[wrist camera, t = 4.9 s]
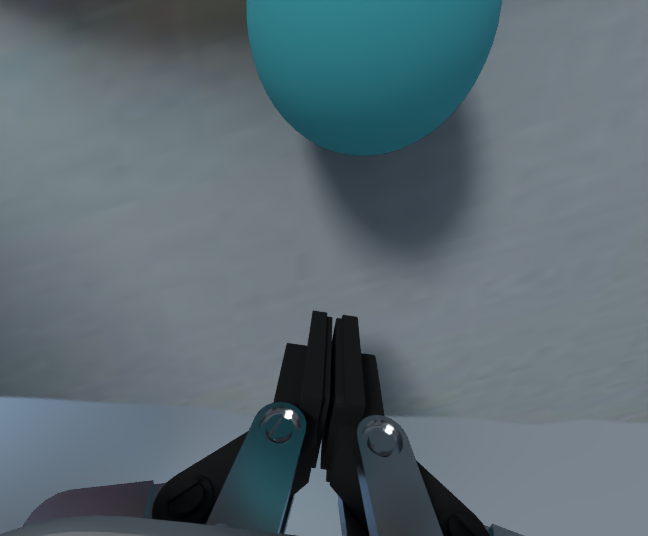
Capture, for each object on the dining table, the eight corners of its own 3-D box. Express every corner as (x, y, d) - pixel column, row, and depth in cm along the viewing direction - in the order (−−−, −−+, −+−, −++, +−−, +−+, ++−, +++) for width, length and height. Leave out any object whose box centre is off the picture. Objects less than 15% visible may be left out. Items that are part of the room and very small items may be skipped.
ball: (350, 177, 13) (362, 229, 7) (234, 44, 11) (137, -16, 5) (485, 54, 11) (635, 2, 5) (372, -134, 9) (431, -499, 4)
